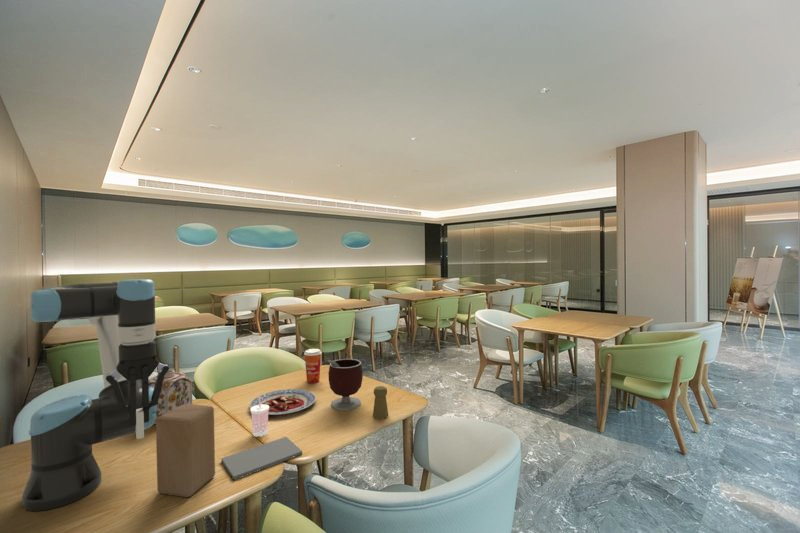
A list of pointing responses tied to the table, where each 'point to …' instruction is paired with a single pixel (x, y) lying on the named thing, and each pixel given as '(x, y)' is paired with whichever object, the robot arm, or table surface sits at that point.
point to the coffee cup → (312, 365)
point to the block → (185, 449)
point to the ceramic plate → (285, 401)
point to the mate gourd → (345, 382)
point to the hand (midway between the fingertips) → (140, 436)
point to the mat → (260, 457)
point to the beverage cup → (260, 419)
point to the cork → (380, 402)
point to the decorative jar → (172, 392)
